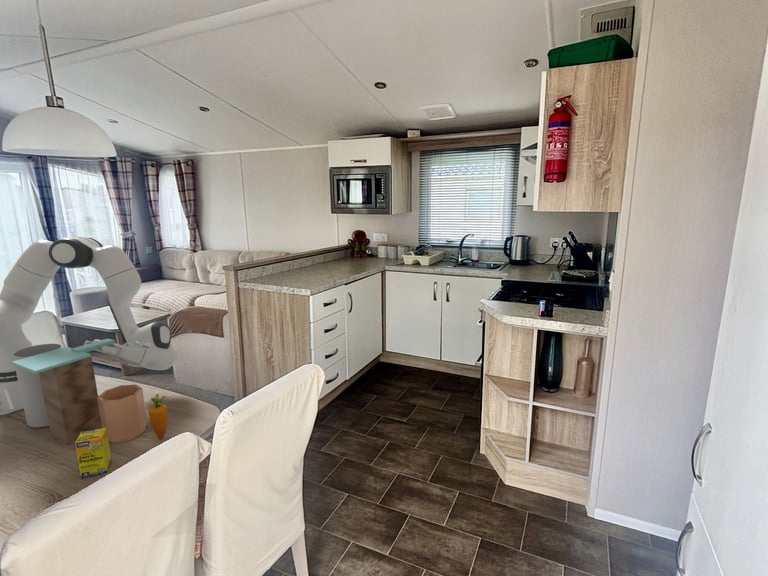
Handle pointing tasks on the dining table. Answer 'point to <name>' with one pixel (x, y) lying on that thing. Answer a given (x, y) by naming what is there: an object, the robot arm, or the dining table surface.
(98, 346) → the teal flat board
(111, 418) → the peach faceted hollow pot
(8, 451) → the dining table surface
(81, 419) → the pedestal
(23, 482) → the dining table surface
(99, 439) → the supplement box
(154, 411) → the carrot
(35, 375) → the cylinder vase
